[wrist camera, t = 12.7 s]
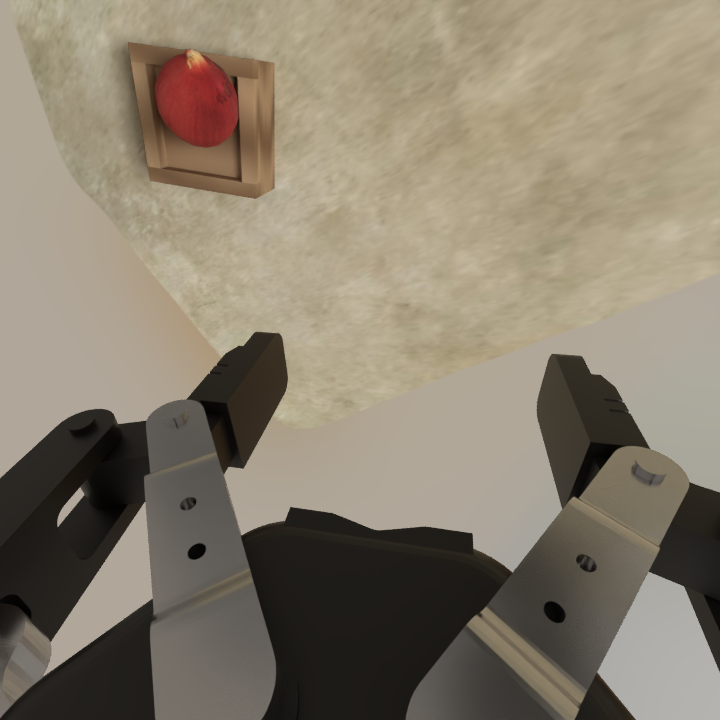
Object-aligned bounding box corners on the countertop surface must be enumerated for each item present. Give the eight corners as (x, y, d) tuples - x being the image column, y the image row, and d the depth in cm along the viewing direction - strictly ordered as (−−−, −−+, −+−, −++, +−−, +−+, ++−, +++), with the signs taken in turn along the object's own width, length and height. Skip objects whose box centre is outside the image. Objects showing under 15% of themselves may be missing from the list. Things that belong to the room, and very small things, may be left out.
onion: (214, 102, 35) (216, 10, 28) (247, 159, 35) (258, 80, 28) (147, 116, 33) (131, 19, 26) (182, 177, 33) (176, 96, 26)
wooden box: (166, 47, 36) (127, 42, 31) (275, 63, 35) (251, 59, 30) (181, 171, 41) (150, 180, 37) (276, 187, 40) (255, 198, 36)
